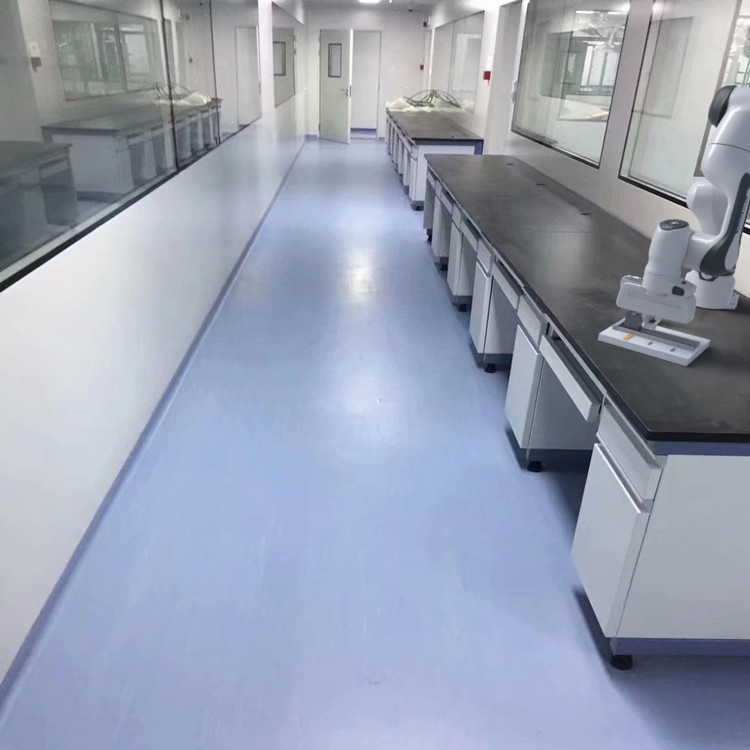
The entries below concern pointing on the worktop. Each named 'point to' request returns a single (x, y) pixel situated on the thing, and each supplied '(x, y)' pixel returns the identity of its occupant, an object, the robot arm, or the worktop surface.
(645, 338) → the console
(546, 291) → the worktop surface
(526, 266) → the worktop surface
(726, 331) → the worktop surface
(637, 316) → the fader tab
